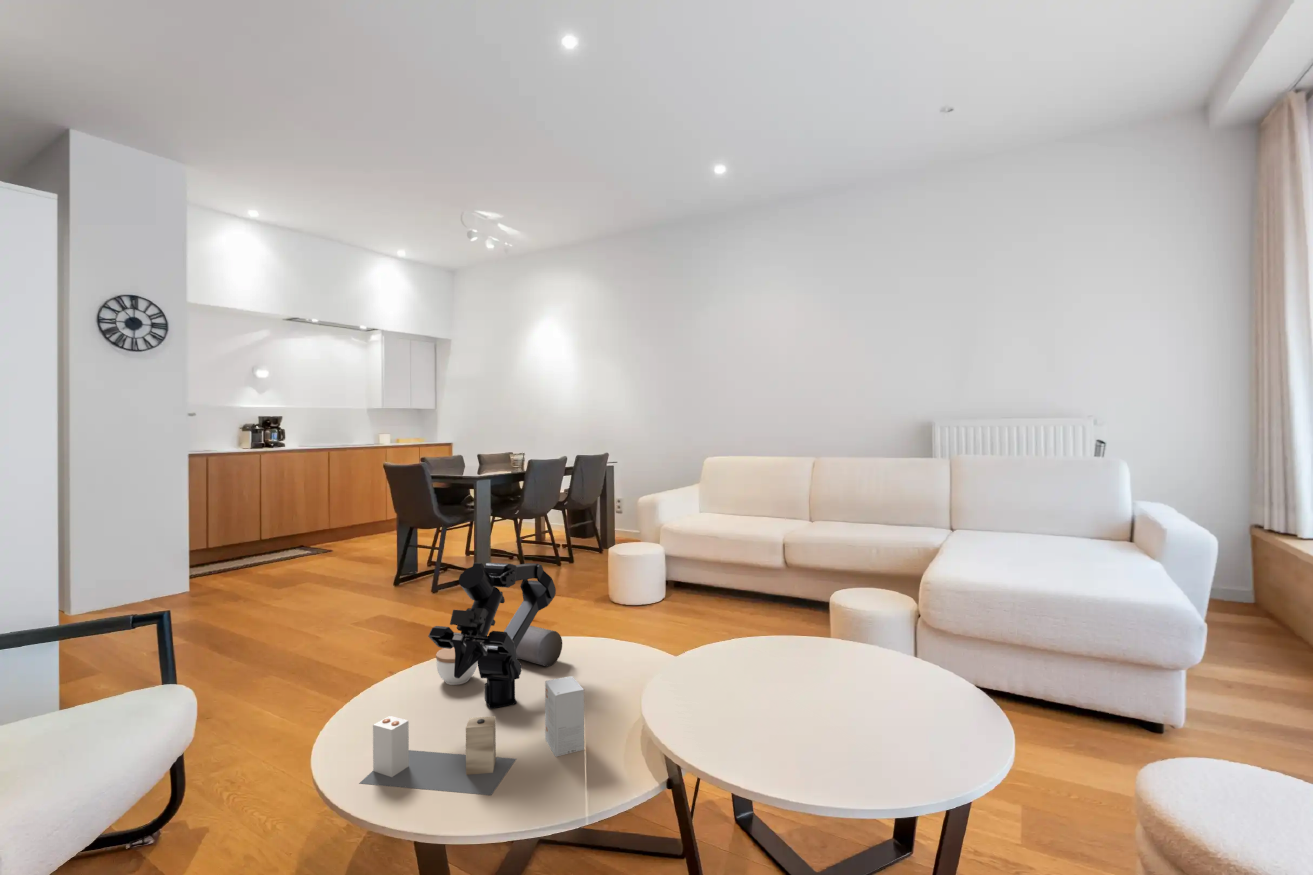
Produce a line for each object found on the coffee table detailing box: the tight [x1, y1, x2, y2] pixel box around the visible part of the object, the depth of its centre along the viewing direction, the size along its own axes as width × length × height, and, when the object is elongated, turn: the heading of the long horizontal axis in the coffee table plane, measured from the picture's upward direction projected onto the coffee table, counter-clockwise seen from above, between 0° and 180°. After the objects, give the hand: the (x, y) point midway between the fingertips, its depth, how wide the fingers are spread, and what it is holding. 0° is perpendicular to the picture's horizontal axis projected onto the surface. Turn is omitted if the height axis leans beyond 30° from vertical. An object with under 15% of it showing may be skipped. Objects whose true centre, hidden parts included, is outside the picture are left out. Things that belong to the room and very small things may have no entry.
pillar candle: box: [516, 625, 563, 667], centre depth 170 cm, size 10×10×15 cm
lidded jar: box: [435, 647, 478, 686], centre depth 157 cm, size 11×11×9 cm
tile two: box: [372, 715, 410, 777], centre depth 114 cm, size 4×5×9 cm
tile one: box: [465, 715, 497, 775], centre depth 114 cm, size 4×5×9 cm
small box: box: [544, 675, 585, 757], centre depth 123 cm, size 8×6×13 cm
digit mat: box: [358, 749, 517, 796], centre depth 114 cm, size 26×12×1 cm, turn 82°
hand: (456, 677), depth 126 cm, fingers closed
